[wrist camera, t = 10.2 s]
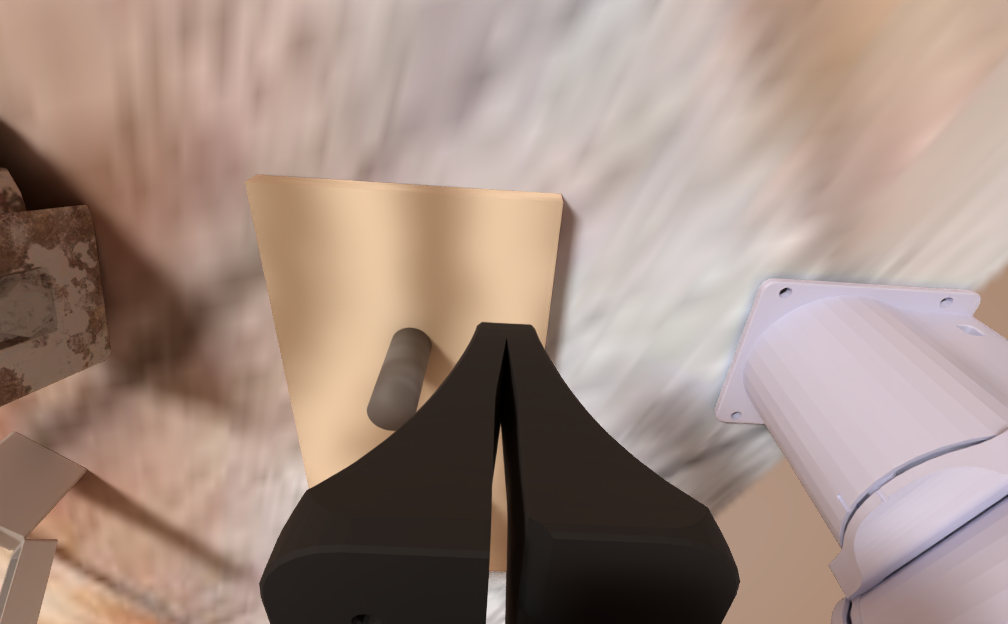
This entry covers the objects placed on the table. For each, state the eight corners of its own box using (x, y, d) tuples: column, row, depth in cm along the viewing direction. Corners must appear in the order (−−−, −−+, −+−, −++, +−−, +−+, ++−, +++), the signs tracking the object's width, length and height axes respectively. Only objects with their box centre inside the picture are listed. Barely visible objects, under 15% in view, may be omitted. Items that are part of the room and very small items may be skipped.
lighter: (1, 445, 28) (-168, 588, 21) (12, 430, 27) (-157, 572, 20) (124, 508, 30) (11, 653, 23) (137, 495, 30) (25, 641, 23)
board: (561, 193, 20) (576, 251, 15) (516, 557, 32) (517, 650, 28) (256, 174, 20) (176, 226, 15) (329, 548, 32) (298, 640, 27)
